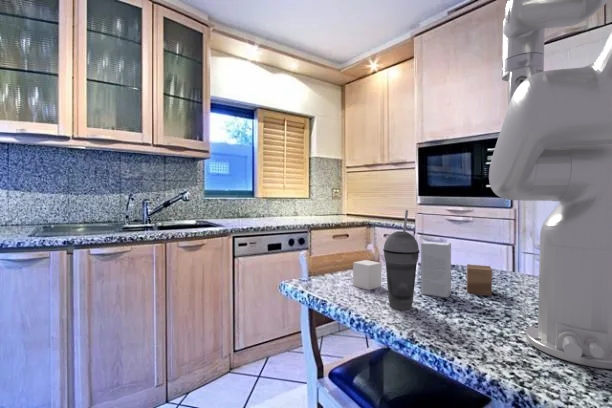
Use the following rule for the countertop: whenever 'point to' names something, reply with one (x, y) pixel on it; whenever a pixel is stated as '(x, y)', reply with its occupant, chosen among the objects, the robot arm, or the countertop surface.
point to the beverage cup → (401, 267)
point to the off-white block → (367, 274)
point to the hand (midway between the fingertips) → (520, 154)
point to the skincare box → (436, 269)
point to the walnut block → (479, 279)
